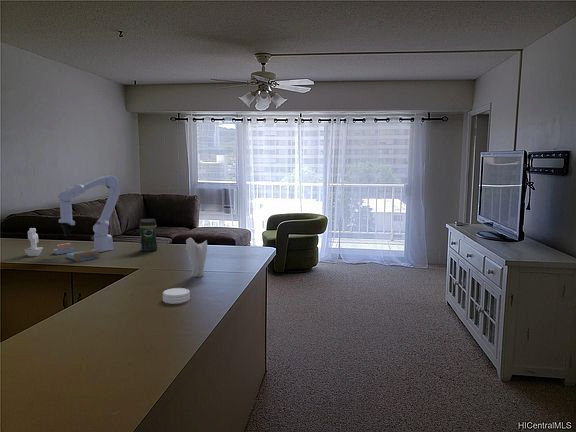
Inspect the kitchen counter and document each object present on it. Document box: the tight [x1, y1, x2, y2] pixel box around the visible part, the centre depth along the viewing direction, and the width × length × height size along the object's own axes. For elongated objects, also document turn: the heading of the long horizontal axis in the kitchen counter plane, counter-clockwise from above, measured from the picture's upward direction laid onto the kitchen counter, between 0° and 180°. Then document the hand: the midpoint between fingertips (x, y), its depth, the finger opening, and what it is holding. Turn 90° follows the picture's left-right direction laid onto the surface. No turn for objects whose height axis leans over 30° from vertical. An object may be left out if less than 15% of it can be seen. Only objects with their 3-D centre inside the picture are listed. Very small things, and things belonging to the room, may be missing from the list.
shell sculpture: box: [185, 237, 208, 278], centre depth 200 cm, size 8×8×18 cm
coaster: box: [162, 287, 191, 305], centre depth 166 cm, size 10×10×4 cm
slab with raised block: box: [52, 242, 75, 255], centre depth 246 cm, size 9×5×5 cm, turn 143°
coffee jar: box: [138, 218, 158, 252], centre depth 255 cm, size 10×8×19 cm
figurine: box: [23, 227, 44, 257], centre depth 239 cm, size 7×9×15 cm
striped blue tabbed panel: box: [66, 249, 100, 263], centre depth 234 cm, size 12×14×4 cm
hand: (67, 236), depth 242 cm, fingers closed
